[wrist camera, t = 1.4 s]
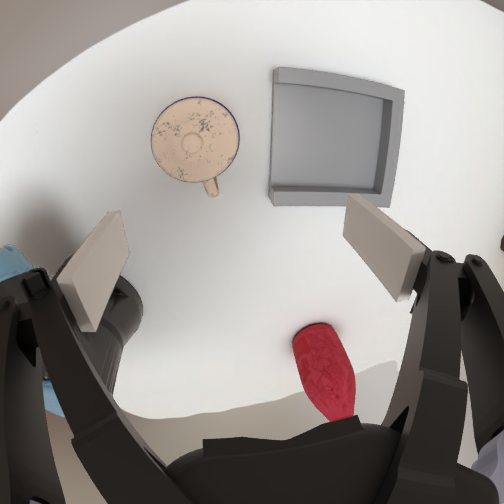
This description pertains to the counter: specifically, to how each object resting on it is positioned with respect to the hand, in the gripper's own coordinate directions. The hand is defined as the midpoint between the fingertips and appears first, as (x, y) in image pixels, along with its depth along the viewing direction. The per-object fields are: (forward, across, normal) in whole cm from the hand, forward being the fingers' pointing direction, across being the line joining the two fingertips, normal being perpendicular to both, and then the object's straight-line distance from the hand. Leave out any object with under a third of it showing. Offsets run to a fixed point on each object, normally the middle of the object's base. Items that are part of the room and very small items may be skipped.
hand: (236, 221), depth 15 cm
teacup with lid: (+23, -3, +2) cm, 23 cm away
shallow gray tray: (+23, +15, +2) cm, 28 cm away
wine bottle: (+23, +16, -37) cm, 46 cm away
